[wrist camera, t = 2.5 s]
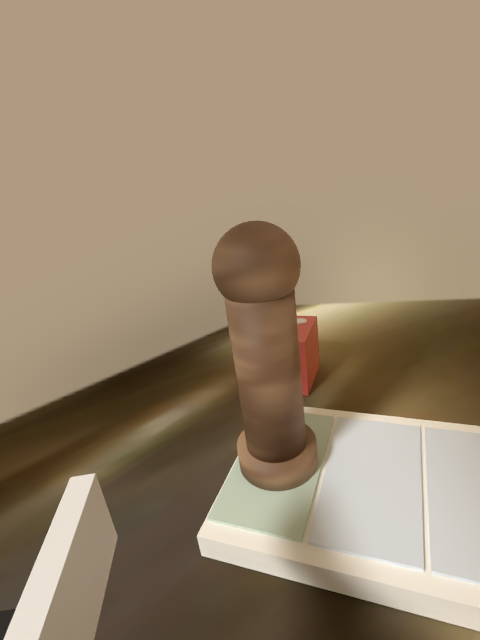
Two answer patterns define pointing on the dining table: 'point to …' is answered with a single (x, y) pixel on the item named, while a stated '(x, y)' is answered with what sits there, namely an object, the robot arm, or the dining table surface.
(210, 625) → the dining table surface
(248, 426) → the pawn
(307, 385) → the die
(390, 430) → the board
